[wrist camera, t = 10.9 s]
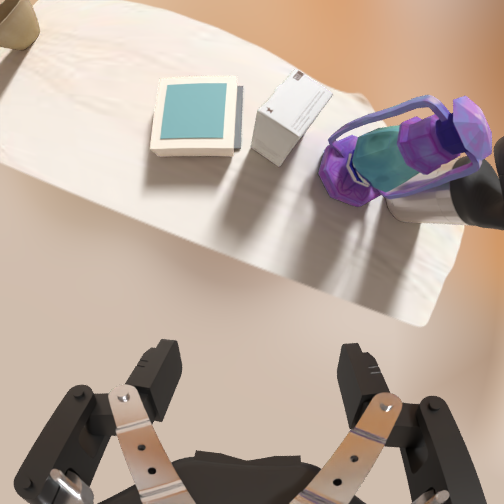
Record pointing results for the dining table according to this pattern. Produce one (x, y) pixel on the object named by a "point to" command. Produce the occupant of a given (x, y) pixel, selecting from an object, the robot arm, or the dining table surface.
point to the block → (195, 116)
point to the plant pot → (17, 24)
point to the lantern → (404, 150)
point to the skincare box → (287, 116)
